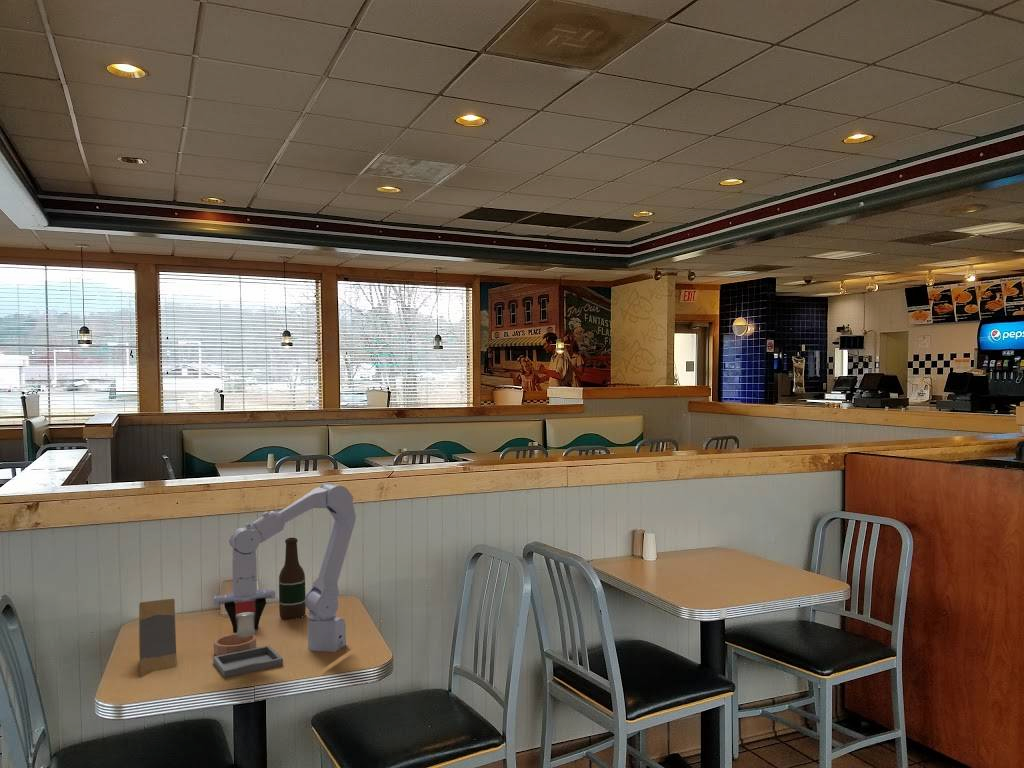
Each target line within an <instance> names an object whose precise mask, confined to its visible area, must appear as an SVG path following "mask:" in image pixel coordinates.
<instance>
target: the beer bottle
mask: <svg viewBox="0 0 1024 768" xmlns="http://www.w3.org/2000/svg"><path fill="white" fill-rule="evenodd" d="M284 543H285V558H284V559H285V560H284V565H283V567H282V568H281V570H280V572H279V576H278V598H279V599H278V605H279V606H278V609H279V618H280V617H282V618H283V619H282V618H281V619H282V620H284V619H294V620H297V619H296V618H298V619H300V618H299V617H302V616H303V617H304V616H305V615H306V608H307V607H306V605H305V597H306V576H305V572H304V568H303V567H302V565H301V564H300V563H299V562H300V561H299V554H298V544H297V543H298V538H296V537H287V538H286V539H285V541H284ZM303 617H302V618H303Z"/></svg>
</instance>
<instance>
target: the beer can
mask: <svg viewBox="0 0 1024 768" xmlns="http://www.w3.org/2000/svg"><path fill="white" fill-rule="evenodd" d="M235 608H236V615H237V614H239V613H244V612H253V613H255V602H254V601H246V602H237V603H235Z"/></svg>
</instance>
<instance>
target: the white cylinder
mask: <svg viewBox="0 0 1024 768" xmlns="http://www.w3.org/2000/svg"><path fill="white" fill-rule="evenodd" d="M235 634H236V636H237V637H250V636H253V635H256V630H255V613H253V612H244V613H239V614H237V615H236V633H235Z"/></svg>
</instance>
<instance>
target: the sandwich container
mask: <svg viewBox="0 0 1024 768" xmlns="http://www.w3.org/2000/svg"><path fill="white" fill-rule="evenodd" d="M175 603H176V602H175V598H168V599H166V598H165V599H159V600H158V599H156V600H151V601H150V600H148V601H142V602H139V603H138V605H139V606H138V643H139V644H138V647H139V649H138V651H139V653H138V654H139V674H140V675H141V676H140V678H143V677H145V676H147V675H149V674H150V673H153V672H157V671H162V670H168V669H169V670H170V669H172V668H173V669H174V668H177V667H178V663H177V661H178V660H177V659H178V658H177V640H176V639H177V638H176V637H177V635H176V606H175Z"/></svg>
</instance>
